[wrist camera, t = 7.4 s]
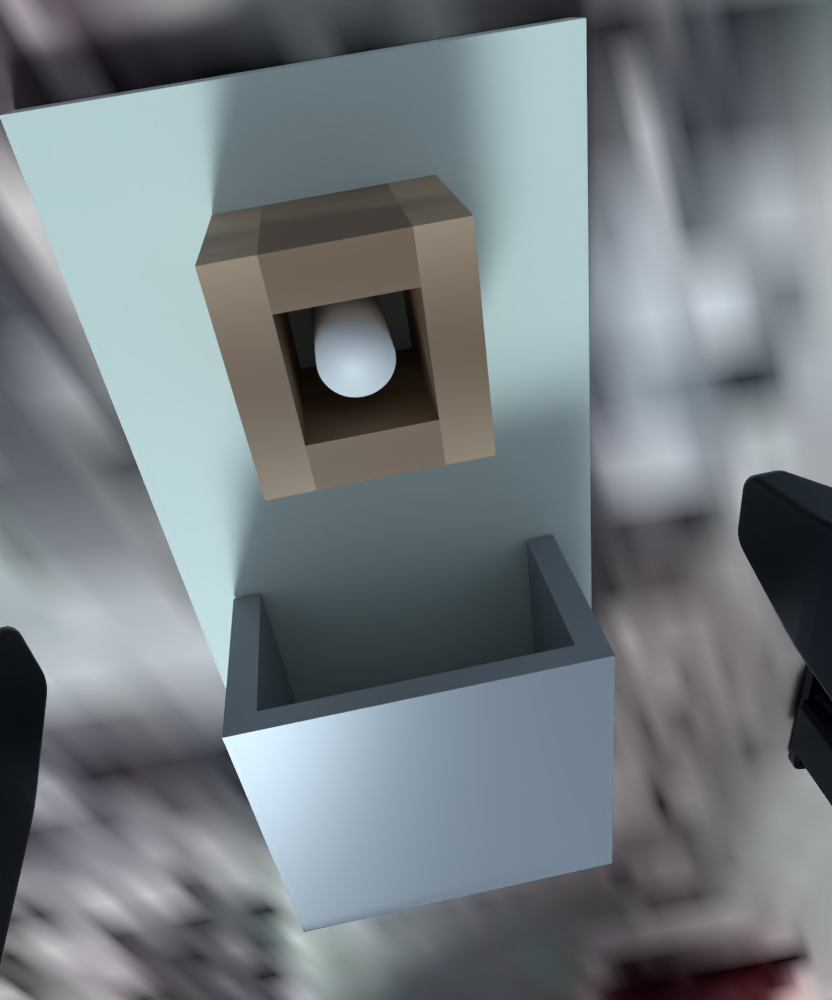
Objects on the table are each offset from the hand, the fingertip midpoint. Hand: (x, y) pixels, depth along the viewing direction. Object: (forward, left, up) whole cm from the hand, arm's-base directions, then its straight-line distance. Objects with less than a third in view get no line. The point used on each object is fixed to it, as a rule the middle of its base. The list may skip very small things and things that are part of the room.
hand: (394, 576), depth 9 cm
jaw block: (0, 0, -11) cm, 11 cm away
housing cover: (0, +13, -11) cm, 16 cm away
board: (0, +6, -12) cm, 13 cm away
